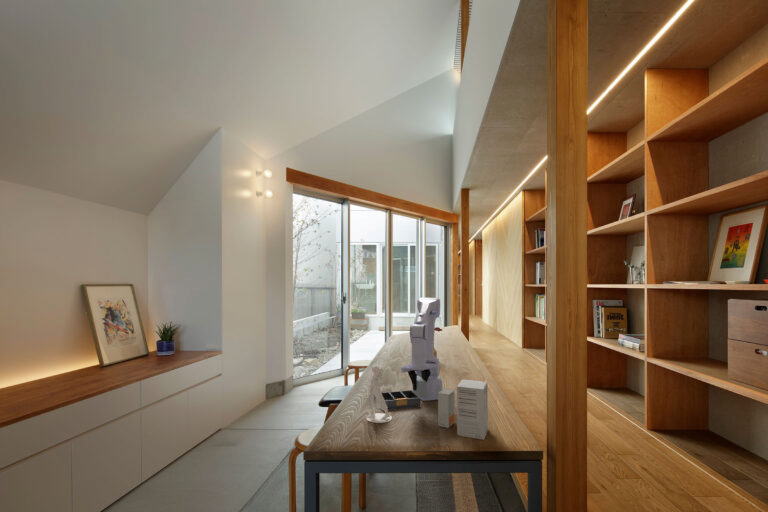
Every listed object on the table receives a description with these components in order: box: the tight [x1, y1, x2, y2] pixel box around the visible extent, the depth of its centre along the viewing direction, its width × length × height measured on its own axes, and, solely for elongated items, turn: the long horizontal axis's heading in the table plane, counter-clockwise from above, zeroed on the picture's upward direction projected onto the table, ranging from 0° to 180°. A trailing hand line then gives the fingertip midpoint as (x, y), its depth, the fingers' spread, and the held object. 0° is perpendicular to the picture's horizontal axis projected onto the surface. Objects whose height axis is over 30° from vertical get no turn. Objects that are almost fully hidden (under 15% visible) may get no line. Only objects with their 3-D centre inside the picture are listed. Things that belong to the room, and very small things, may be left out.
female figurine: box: [351, 364, 393, 424], centre depth 153 cm, size 11×16×20 cm
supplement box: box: [456, 379, 489, 440], centre depth 138 cm, size 10×9×17 cm
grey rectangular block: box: [412, 376, 427, 398], centre depth 156 cm, size 3×8×6 cm, turn 14°
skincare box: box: [437, 388, 456, 429], centre depth 145 cm, size 6×4×12 cm
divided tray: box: [381, 389, 421, 411], centre depth 168 cm, size 16×11×4 cm
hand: (419, 389), depth 157 cm, fingers closed on grey rectangular block, 3 cm apart
